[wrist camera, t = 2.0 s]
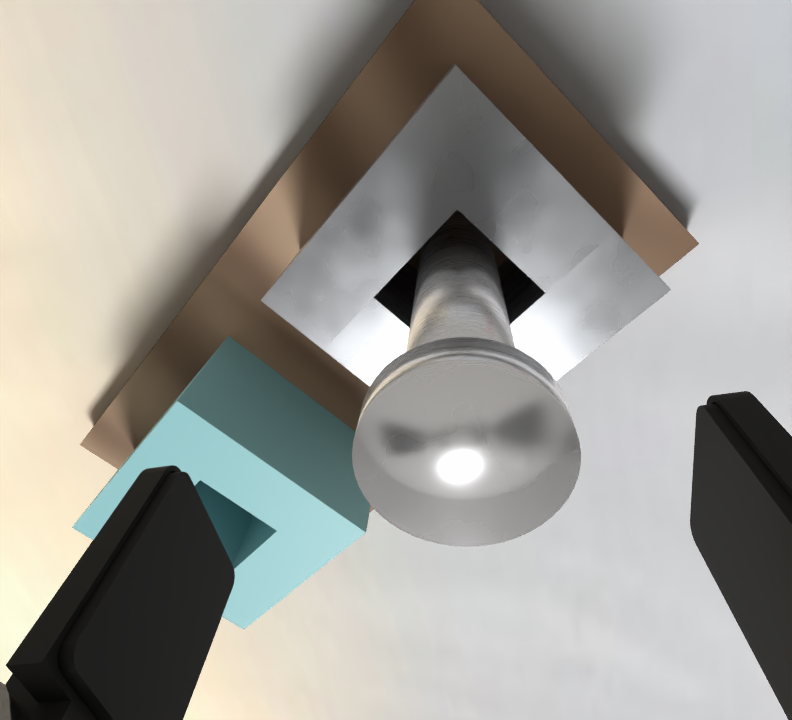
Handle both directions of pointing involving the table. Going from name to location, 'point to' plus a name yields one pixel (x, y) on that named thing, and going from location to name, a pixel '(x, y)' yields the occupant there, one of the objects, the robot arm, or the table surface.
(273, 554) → the teal socket
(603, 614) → the table surface
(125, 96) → the table surface
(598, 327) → the plate
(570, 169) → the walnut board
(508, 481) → the lock pin
